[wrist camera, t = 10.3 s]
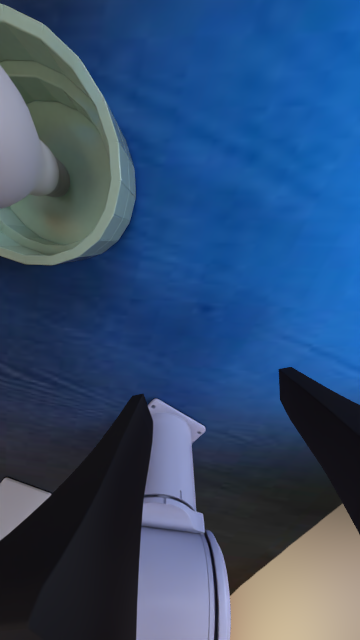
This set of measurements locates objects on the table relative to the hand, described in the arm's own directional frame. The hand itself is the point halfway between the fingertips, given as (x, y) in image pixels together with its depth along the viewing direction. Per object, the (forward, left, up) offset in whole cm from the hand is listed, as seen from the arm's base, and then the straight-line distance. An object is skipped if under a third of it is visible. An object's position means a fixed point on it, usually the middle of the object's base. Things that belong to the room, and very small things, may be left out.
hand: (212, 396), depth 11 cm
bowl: (+3, +16, -10) cm, 19 cm away
